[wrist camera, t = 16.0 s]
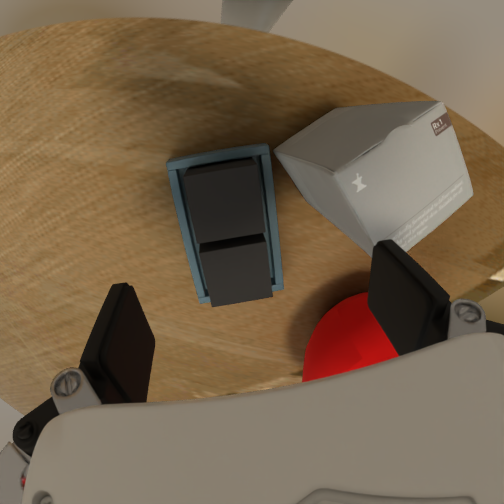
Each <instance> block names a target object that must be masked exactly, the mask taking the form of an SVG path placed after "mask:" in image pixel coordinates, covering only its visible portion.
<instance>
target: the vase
mask: <svg viewBox="0 0 504 504" xmlns="http://www.w3.org/2000/svg"><path fill="white" fill-rule="evenodd" d="M367 298H368V292H365V293H360V294H357V295H354V296H351V297H349V298H347V299H345V300H343V301H342V302H340V303H338V304H336V305H335V306H334V307H333V308H332V309H330V310H329V311H328V312H327V313H326V314H325V315H324V316H323V317H322V319H321V320H320V321H319V322H318V324H317V325H316V327H315V329H314V331H313V334H312V336H311V338H310V340H309V342H308V345H307V347H306V351H305V358H304V368H303V378H302V382H307V381H311V380H316V379H320V378H324V377H328V376H332V375H336V374H340V373H344V372H348V371H352V370H355V369H359V368H363V367H366V366H369V365H373V364H376V363H380V362H383V361H386V360H389V359H392V358H395V357H398V356H399V355H398V353H397V352H396V350H395V348H394V347H393V345H392V344H391V342H390V340H389V339H388V337H387V336H386V334H385V332H384V331H383V329H382V328H381V326H380V325H379V323H378V321H377V320H376V318H375V317H374V315H373V314H372V312H371V311H370V309H369V307H368V304H367Z"/></svg>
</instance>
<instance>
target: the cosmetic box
mask: <svg viewBox="0 0 504 504" xmlns="http://www.w3.org/2000/svg"><path fill="white" fill-rule="evenodd" d="M273 153H274V154H275V156H276V157H277V158H278V160H279V161H280V163H281V164H282V166H283V167H284V169H285V170H286V171H287V173H288V174H289V176H290V177H291V179H292V180H293V182H294V183H295V185H296V186H297V188H298V189H299V191H300V193H301V194H302V196H303V197H304V199H305V200H306V201H307V202H308V203H309V204H310V205H311V206H312V207H314V208H315V209H316V210H317V211H318V212H320V213H321V214H322V215H323V216H324V217H326V218H327V219H328V220H329V221H330V222H332V223H333V224H334V225H335V226H336V227H337V228H339V229H340V230H341V231H342V232H343V233H345V234H346V235H347V236H348V237H349V238H350V239H351V240H353V241H354V242H355V243H356V244H357V245H358V246H359V247H361V248H362V249H363V250H364V251H365V252H366V253H367V254H368V255H369V256H371V257H372V252H373V247H374V246H375V245H376V244H377V242H378V241H382V240H388V239H392V240H393V241H394V242H395V243H396V244H398V245H399V246H400V247H401V248H402V249H403V250H404V251H405V252H406V251H408V250H409V249H410V248H411V247H413V246H414V245H415V244H417V243H418V242H419V241H420V240H422V239H423V238H424V237H425V236H427V235H428V234H429V233H430V232H432V231H433V230H434V229H435V228H436V227H438V226H439V225H440V224H441V223H442V222H443V221H445V220H446V219H447V218H448V217H449V216H450V215H452V214H453V213H454V212H455V211H456V210H457V209H458V208H459V207H461V206H462V205H463V204H464V203H465V202H466V201H467V200H468V199H469V198H470V197H472V196H473V190H472V186H471V182H470V178H469V175H468V171H467V168H466V165H465V162H464V158H463V155H462V152H461V149H460V146H459V143H458V140H457V137H456V134H455V132H454V129H453V126H452V124H451V121H450V118H449V116H448V113H447V111H446V108H445V106H444V104H443V102H441V101H417V102H396V103H384V104H371V105H360V106H351V107H342V108H335V109H334V110H332V111H330V112H329V113H327V114H326V115H324V116H322V117H321V118H319V119H318V120H316V121H315V122H313V123H312V124H310V125H309V126H307V127H306V128H304V129H303V130H301V131H300V132H298V133H297V134H295V135H294V136H292V137H291V138H289V139H288V140H286V141H285V142H283V143H282V144H281V145H279V146H278V147H276V148H275V149H274V150H273Z"/></svg>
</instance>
